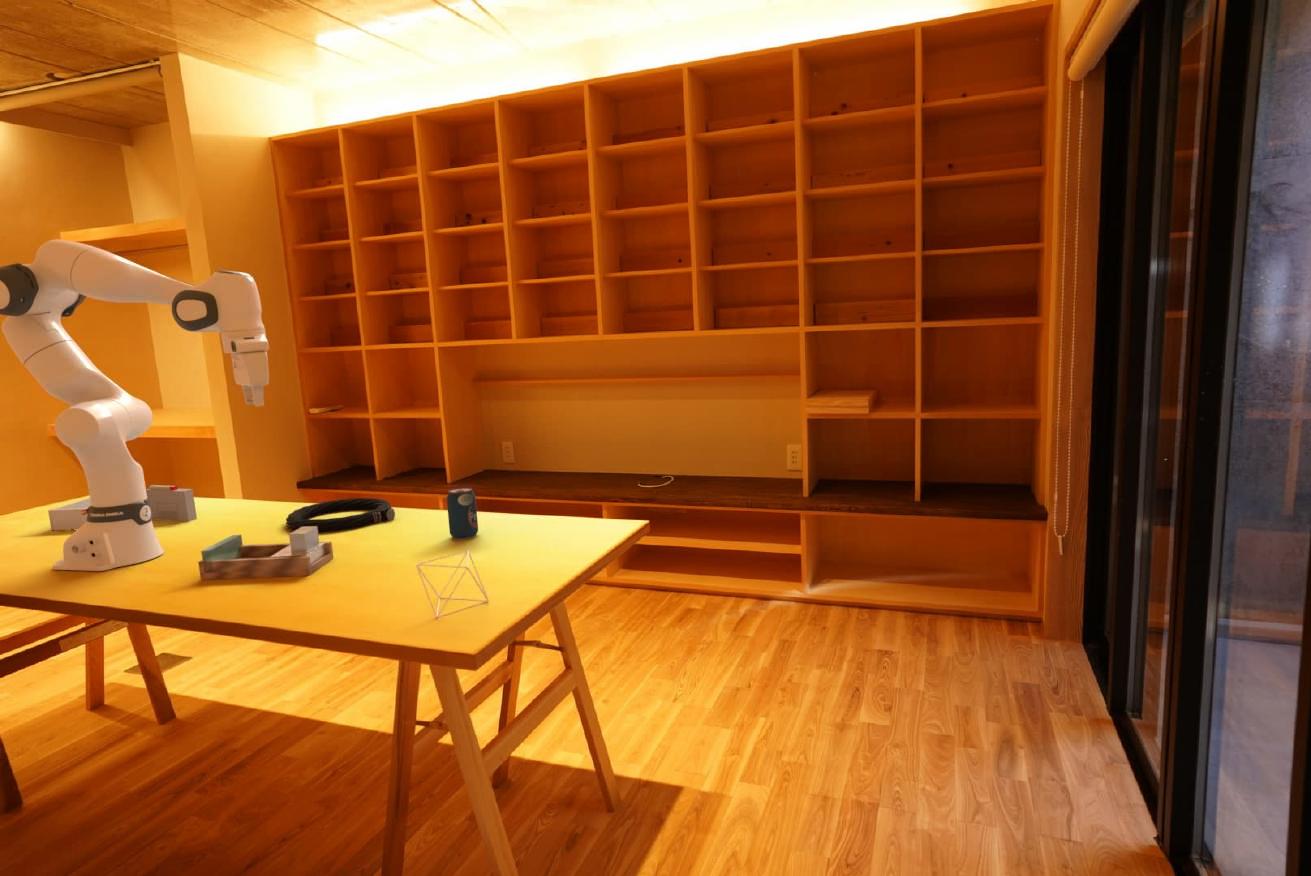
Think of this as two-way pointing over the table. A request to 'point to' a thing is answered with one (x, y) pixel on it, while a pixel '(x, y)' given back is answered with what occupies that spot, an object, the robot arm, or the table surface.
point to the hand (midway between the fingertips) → (255, 405)
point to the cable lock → (378, 514)
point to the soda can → (462, 513)
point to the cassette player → (171, 503)
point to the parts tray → (69, 515)
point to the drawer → (255, 560)
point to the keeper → (303, 544)
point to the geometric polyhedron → (449, 581)
